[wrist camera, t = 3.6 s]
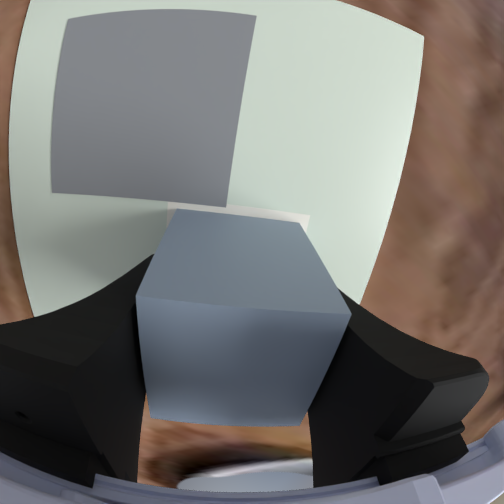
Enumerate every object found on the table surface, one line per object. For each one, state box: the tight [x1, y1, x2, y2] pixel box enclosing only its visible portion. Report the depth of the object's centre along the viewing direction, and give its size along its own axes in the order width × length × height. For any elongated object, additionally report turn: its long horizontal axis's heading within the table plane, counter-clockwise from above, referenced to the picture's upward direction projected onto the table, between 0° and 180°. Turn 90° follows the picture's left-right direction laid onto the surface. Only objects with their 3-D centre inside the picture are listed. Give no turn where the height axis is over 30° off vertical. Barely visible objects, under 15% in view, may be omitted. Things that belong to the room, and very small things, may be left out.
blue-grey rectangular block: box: [136, 209, 351, 426], centre depth 9 cm, size 4×4×6 cm
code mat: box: [9, 0, 424, 317], centre depth 10 cm, size 16×16×1 cm
